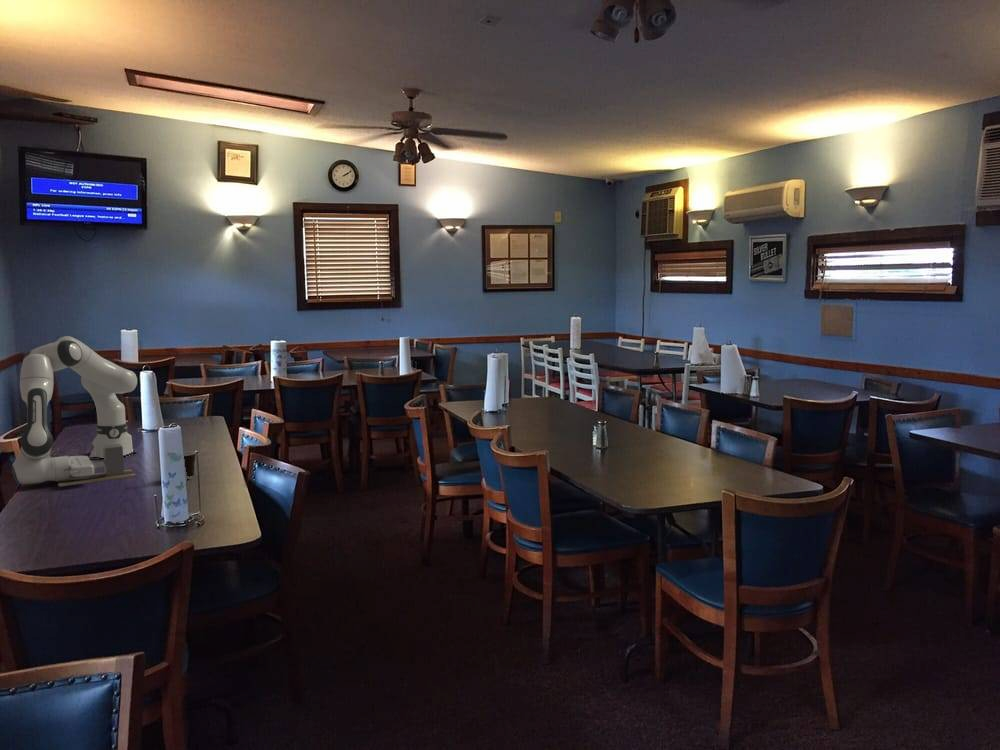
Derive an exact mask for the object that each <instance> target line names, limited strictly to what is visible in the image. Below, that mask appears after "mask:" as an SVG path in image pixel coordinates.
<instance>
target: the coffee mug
mask: <svg viewBox="0 0 1000 750" xmlns="http://www.w3.org/2000/svg"><path fill="white" fill-rule="evenodd" d="M183 451H184V459H185V467H186V472H187V476H189V477H190V476H193V475H194V476H195V468H196V454H197V453H196V451H192V450H191V451H190V450H189V451H188V450H186V451H185V450H183Z"/></svg>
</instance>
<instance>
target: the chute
mask: <svg viewBox="0 0 1000 750" xmlns="http://www.w3.org/2000/svg"><path fill="white" fill-rule="evenodd" d="M129 478H137V474H136V473H133V469H124V475H119V476H111V477H105V472H99V473H94V475H90V476H78V477H73V476H70V479H68V480H59V481H56V482H57V486H58V487H67V486H72V485H73V486H75V485H80V484H81V485H82V484H89V483H95V482H96V483H97V482H105V481H113V480H119V479H129ZM72 480H73V481H72Z"/></svg>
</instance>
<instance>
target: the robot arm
mask: <svg viewBox="0 0 1000 750" xmlns="http://www.w3.org/2000/svg"><path fill="white" fill-rule="evenodd" d="M67 368H70V369H71V370H72V371H73V372H75V373H76V374H78V375H79V376H80V383H81V386H82V387H83V388H84V390H86V391H87V392H88V393H89V395H90V396H91V398H92V400H93V402H94V404H95V405H94V406H95V408H96V420H97V425H96V428H95V429H96V434H97V435H96V436H95V437H94V439H93V440H92V441H91V447H92V450H91V452H90V454H89V456H88V455H72V456H68V455H64V454H63V455H59V456H55V457H51V456H50V455H51V451H52V447H53V444H54V437H53V434H52V432H51V431H50V429H49V426H48V406H49V403H50V401H51V400H52V398H53V394H54V393H53V392H54V385H55V384H54V372H58V371H62V370H64V369H67ZM137 385H138V377H137V375H136V373H135V372H134V371H132V370H129V369H127V368H125V367H122V366H120V365H117V364H116V363H115V362H113V361H111V360H108V359H105V358H104V357H102V356H101V355H99V354H98V353H97V352H95V351H94V350H93V349H91V348H90V347H89V346H88V345H86V344H85V343H83V342H82V341H81V340H79V339H77V338H75V337H73V336H70V335H69V336H68V335H67V336H66V335H65V336H61V337H60V338H58V339H56V340H55V342H50V343H46V344H44V345H41V346H38V347H34V348H32V349H29V350H28V351H26V352H25V354H24V356H23V361H22V363H21V368H20V375H19V391H20V395H21V400H22V401H23V402H24V403H25V404H26V408H27V412H26V415H27V416H26V419H27V422H26V427H25V431H23V434H22V436H21V438H20V446H21V447H20V449H19V453H18V455H17V456H16V459H15V460H14V462H13V463H12V464H11V472H12V476H13V479H14V480H15V482H17V483H18V484H23V485H27V484H28V485H30V484H32V485H33V484H41V483H45V482H49V481H50V482H57V481H59V480H68V479H70V477H78V476H90V475H94V474H95V470H96V469H99V468H102V467H103V468H104V467H105V462H104V460H91V458H90V457H100V458H104V455H103V446H104V445H114V444H121V445H122V447H123V455H126V454H129V453H131V452H133V450H134V449H133V440H132V439H133V437H132V434H130V433H128V424H127V422H126V419H127V418H126V407H125V404H124V403H122V402H121V400H119V398H118V397H117V395H116V394H121V395H122V394H126V393H132V392H133V391H135V389H136V387H138V386H137ZM68 481H69V480H68ZM59 482H60V481H59Z"/></svg>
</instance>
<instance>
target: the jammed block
mask: <svg viewBox="0 0 1000 750" xmlns="http://www.w3.org/2000/svg"><path fill="white" fill-rule="evenodd" d="M103 455H104V459H103V461H104V462H105V467H103V468H104V473H105V476H104V477H111V476H119V475H125V473H124V470H125V467H124V466H125V465H124V457H123V447H122V445H121V444H114V445H104V446H103Z"/></svg>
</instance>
